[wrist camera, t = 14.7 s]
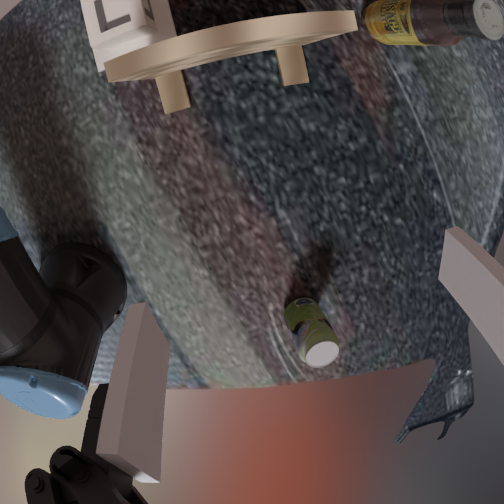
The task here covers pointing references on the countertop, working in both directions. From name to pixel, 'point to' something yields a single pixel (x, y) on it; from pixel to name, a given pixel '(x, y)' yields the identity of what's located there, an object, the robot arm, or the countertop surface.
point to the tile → (164, 32)
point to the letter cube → (117, 21)
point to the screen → (229, 50)
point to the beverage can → (311, 332)
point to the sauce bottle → (432, 21)
